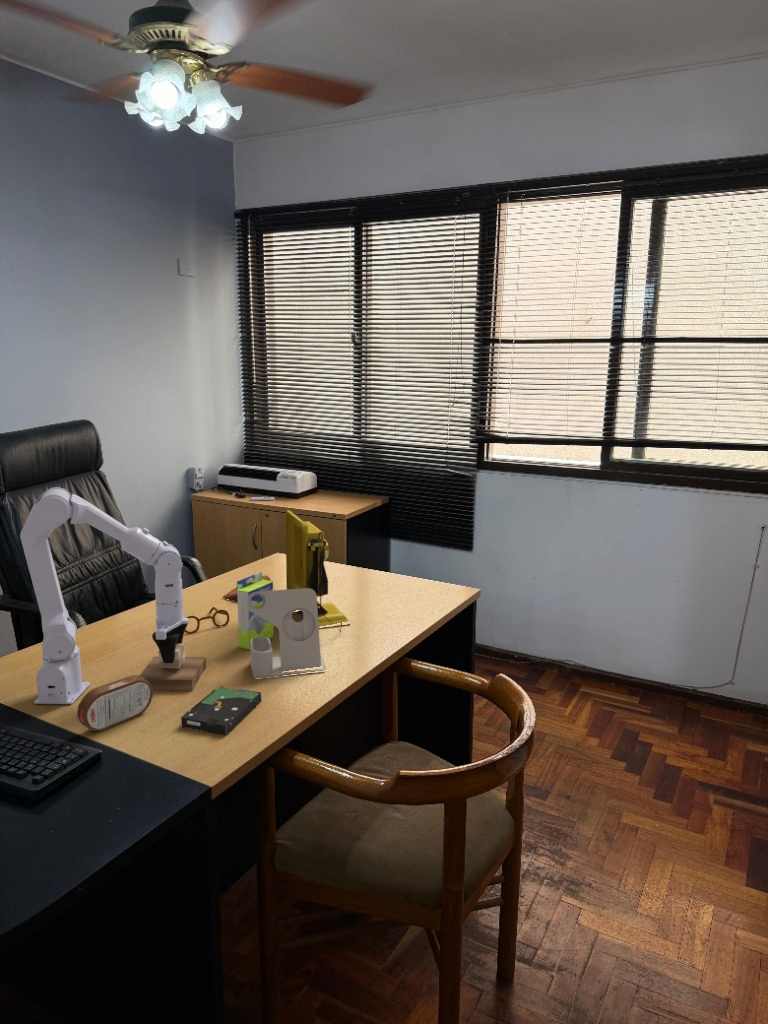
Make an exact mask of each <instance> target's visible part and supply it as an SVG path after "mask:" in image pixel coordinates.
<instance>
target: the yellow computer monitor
mask: <svg viewBox="0 0 768 1024" xmlns="http://www.w3.org/2000/svg"><path fill="white" fill-rule="evenodd" d="M324 535H325V533H324V532H323V531H322V530H320V529H319V528H318V527H317V526H315V525H314V524H313V523H311V521H303V519H301V518H299V517H298V516H297V515H296V514H295V513H293V512H292V511H291V510H290V509H289V510H288V509H287V510H285V561H286V562H285V564H286V566H285V567H286V569H285V570H286V572H285V574H286V575H285V576H286V580H285V581H286V590H287V589H302V588H310V589H313V590H314V591H315V593H316V595H317V598H319V600H317V609H318V625H319V627H320V626H326V625H332V624H337V623H341V626H340V627H343V626H342V622H347V621H349V619H348V618H347V616H345V614H343V613H342V611H341V610H340V609H338V608H337V606H336V605H335V604H334V603H333V602H327V603H326V602H325V603H322V597H323V596H327V595H329V579H328V576H327V571H326V567H325V563H324V562H325V561H326V560H328V558H329V554H330V552H329V543H328V542H327V540H326V539H325V537H324ZM303 618H304V614H303V613H302V619H303ZM339 632H340V633H341V632H342V628H340V630H339Z"/></svg>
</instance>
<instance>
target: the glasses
mask: <svg viewBox="0 0 768 1024" xmlns="http://www.w3.org/2000/svg"><path fill="white" fill-rule="evenodd" d="M213 611H215V612H214V613H213V614H212V615H207V616H204V617H203V616H202V617H200V618H199V617H197V616H195V615H188V616H187V617H185V618H189V619H195V621H196V628H195V629H194V630H192V631H188V630H187V628H186V629H185V632H184V634H188V635H191V634H195V633H197V632H198V631H199V629H200V626H201V625H200V624H201V621H203V620H209V619H211V620H212V622H213V625H214V626H215V627H217V628H221V627H220V626H224V627H225V625H226V626H228V624H229V622H230V614H229V612H228V611H227V610H225V609H218V608H217V607H215V606H212V607H211V609H210V610H209V612H208V613H210V612H211V613H212V612H213ZM217 614H219V615H224V616H226V621H225V622H224V623H223V624H218V623H217V622H216V616H217Z"/></svg>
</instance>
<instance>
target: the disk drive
mask: <svg viewBox="0 0 768 1024" xmlns="http://www.w3.org/2000/svg"><path fill="white" fill-rule="evenodd" d="M260 702H261V703H262V692H261V691H254V690H249V689H248V690H247V689H244V688H238V689H236V688H231V687H230V688H229V687H224V686H223V685H220V687H217V688H215V689H213V690H212V691H211V692H209V694H207V695H206V696H204V698H203V699H201V700H200V701H199V702H197V703H196V704H195V705H194V706H193V707H191V708H190V709H189V710H188V711H186V712H185V713H184V714H183V715H182V716H181V717H180V721H181V722H180V723H181V727H182V728H185V727H187V728H186V729H190V728H192V729H191V730H195V729H198V730H197V731H200V730H203V731H202V732H206V731H207V732H206V733H211V734H212V733H213V734H217V735H223V736H229V734H230V733H231V732H232V731H234V729H235V728H236V727H237V726H238V725H239V724H240V723H241V722H242V721H244V719H245V718H247V716H249V715H250V714H251V713H252V712H253V711H254V710H255V709H256V708H257V707H258V706H259V705H260V704H261V703H260ZM259 703H260V704H259ZM258 704H259V705H258ZM257 705H258V706H257ZM256 706H257V707H256ZM254 708H255V709H254ZM253 709H254V710H253ZM252 710H253V711H252Z"/></svg>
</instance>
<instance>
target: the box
mask: <svg viewBox="0 0 768 1024" xmlns="http://www.w3.org/2000/svg"><path fill="white" fill-rule="evenodd" d="M262 576H263V571H260V572H257V573H254V574H252V575H249V576H247V577H244V578H242V579H239V580H237V581H236V587H237V596H238V602H237V618H238V619H237V620H238V621H237V622H238V623H237V625H238V648H242V649H246V650H250V641H251V639H253V638H255V637H267V638H270V639H271V638H273V637H274V625H272V624H271V623H269V622H267V621H266V620H264V619H262V618H261V617H259V616H257V615H256V614H254V613H252V612H251V611H250V610H249V609H248V607H247V599H248V597H249V595H250V594H251V593H253V592H260V591H273V590H274V581H273V580H271V581H269V580H264V579H262ZM252 578H253V581H251V582H248V583H246V581H248V580H250V579H252ZM251 603H252V605H253V606H255V607H259V606H261V605H262V603H263V598H262V597H261V596H260V595H255V596H253V597H252V599H251Z"/></svg>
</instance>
